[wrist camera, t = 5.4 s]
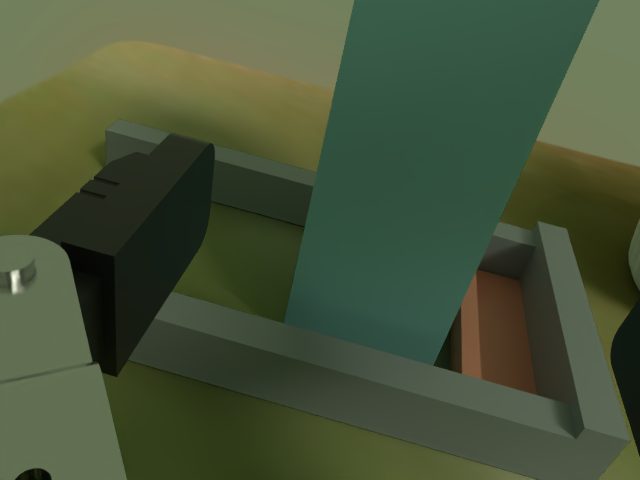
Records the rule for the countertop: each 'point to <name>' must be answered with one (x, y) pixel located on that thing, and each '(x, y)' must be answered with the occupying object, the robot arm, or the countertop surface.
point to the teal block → (424, 161)
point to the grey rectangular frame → (402, 373)
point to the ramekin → (635, 256)
